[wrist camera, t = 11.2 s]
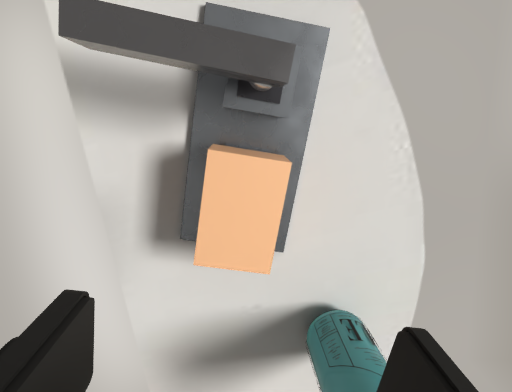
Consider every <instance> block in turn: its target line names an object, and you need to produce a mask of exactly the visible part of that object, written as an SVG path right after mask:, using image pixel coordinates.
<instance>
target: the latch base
mask: <svg viewBox="0 0 512 392" xmlns="http://www.w3.org/2000/svg"><path fill="white" fill-rule="evenodd" d="M204 24H207V25H211V26H216V27H220V28H225V29H229V30H234V31H238V32H243V33H247V34H252V35H256V36H261V37H265V38H270V39H274V40H279V41H284V42H288V43H293V44H296V47H295V52H294V57H293V62H292V67H291V72H290V77H289V82H288V84H286V85H284V86H283V87H281V88H277V87H272V88H270V89H269V90H267V91H258V90H256V89H254V88H253V87H252V86H251V84H250V83H249V82H248V81H243V80H238V79H233V78H228V77H224V76H219V75H214V74H209V73H204V72H199V71H198V80H197V89H196V98H195V107H194V117H193V126H192V135H191V144H190V153H189V162H188V172H187V181H186V190H185V199H184V208H183V218H182V227H181V236H180V239H184V240H192V241H197V233H198V225H199V217H200V209H201V201H202V193H203V185H204V177H205V169H206V161H207V153H208V149H209V148H210V146H211V145H212V144H217V145H223V146H230V147H236V148H242V149H248V150H254V151H260V152H267V153H273V154H279V155H284V156H285V157H286V158H287V159H288V160H289V161H291V162H292V165H291V170H290V175H289V180H288V185H287V190H286V195H285V200H284V205H283V210H282V215H281V220H280V225H279V230H278V235H277V240H276V245H275V250H274V251H277V252H283V251H284V246H285V241H286V236H287V232H288V227H289V222H290V217H291V213H292V208H293V203H294V198H295V194H296V189H297V184H298V179H299V175H300V170H301V165H302V160H303V155H304V151H305V146H306V141H307V136H308V132H309V127H310V122H311V117H312V113H313V108H314V103H315V98H316V93H317V89H318V84H319V79H320V74H321V70H322V65H323V60H324V55H325V51H326V46H327V41H328V36H329V31H330V28H327V27H322V26H317V25H313V24H308V23H303V22H298V21H293V20H289V19H284V18H279V17H274V16H270V15H265V14H260V13H255V12H250V11H246V10H241V9H236V8H231V7H227V6H222V5H217V4H212V3H208V2H206V6H205V15H204Z"/></svg>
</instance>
